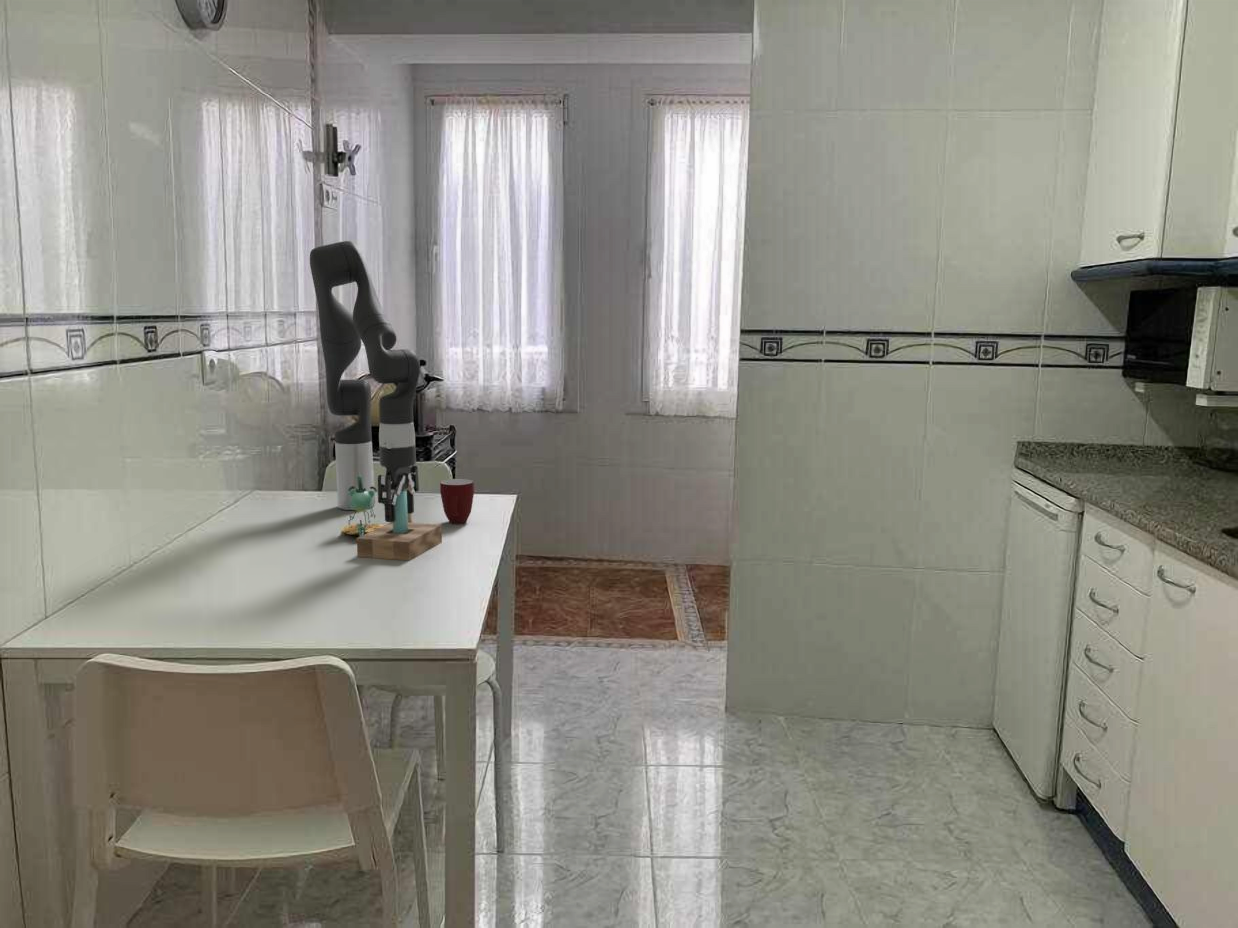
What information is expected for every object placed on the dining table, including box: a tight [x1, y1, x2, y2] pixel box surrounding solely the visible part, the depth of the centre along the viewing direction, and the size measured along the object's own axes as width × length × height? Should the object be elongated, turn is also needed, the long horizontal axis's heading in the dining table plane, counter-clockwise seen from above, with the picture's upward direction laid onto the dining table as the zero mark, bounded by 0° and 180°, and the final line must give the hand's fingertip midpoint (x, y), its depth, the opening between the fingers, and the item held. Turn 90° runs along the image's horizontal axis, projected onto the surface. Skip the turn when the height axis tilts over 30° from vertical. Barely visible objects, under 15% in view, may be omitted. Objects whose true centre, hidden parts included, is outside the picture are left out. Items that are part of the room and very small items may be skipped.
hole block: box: [356, 522, 443, 562], centre depth 211 cm, size 16×12×4 cm
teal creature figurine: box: [340, 475, 383, 540], centre depth 224 cm, size 10×18×15 cm, turn 178°
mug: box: [439, 478, 475, 525], centre depth 234 cm, size 11×8×10 cm
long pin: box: [393, 489, 408, 535], centre depth 210 cm, size 3×3×13 cm
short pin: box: [407, 513, 413, 523], centre depth 223 cm, size 3×3×7 cm
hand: (399, 517), depth 210 cm, fingers open, 8 cm apart
